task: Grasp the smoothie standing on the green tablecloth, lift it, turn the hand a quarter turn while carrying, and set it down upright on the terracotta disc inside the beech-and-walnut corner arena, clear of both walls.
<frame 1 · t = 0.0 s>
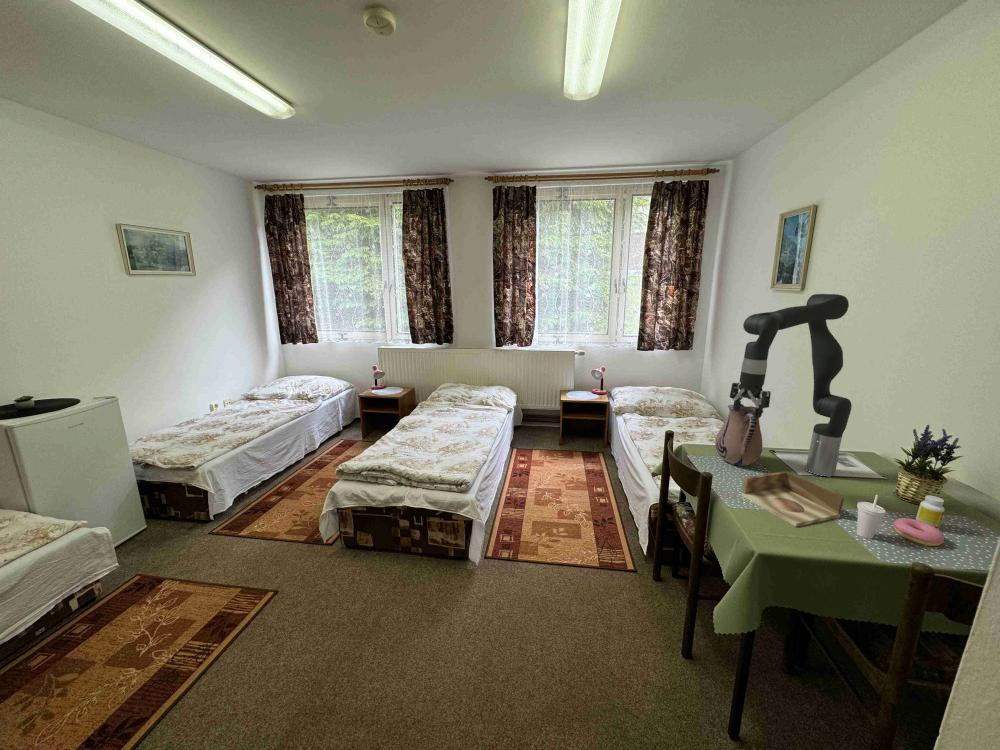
hand: (746, 414, 144), 29 cm above the table, fingers open, 8 cm apart
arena: (788, 505, 138), on the table
ceramic pitcher: (737, 463, 171), on the table
doughnut: (916, 537, 122), on the table
supplement bottle: (926, 526, 128), on the table
smoothie: (864, 535, 122), on the table
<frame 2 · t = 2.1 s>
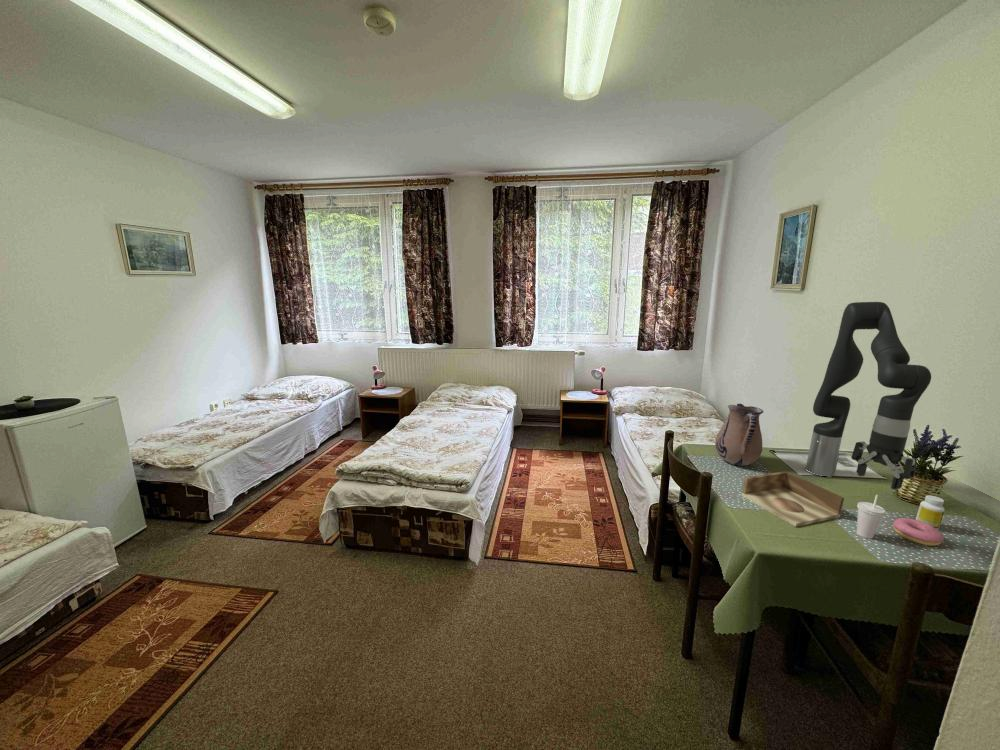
hand: (877, 482, 118), 18 cm above the table, fingers open, 8 cm apart
nothing on the table moved.
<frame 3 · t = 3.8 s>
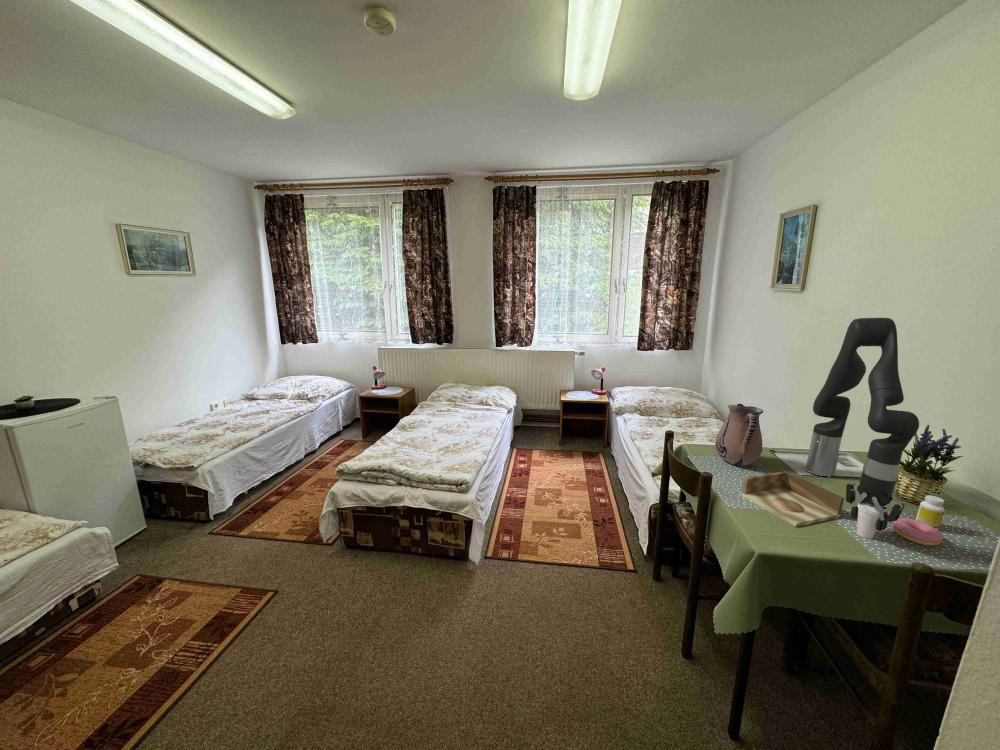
hand: (866, 523, 121), 4 cm above the table, fingers closed on smoothie, 6 cm apart
smoothie: (864, 535, 122), on the table, touching gripper
everything else where it was.
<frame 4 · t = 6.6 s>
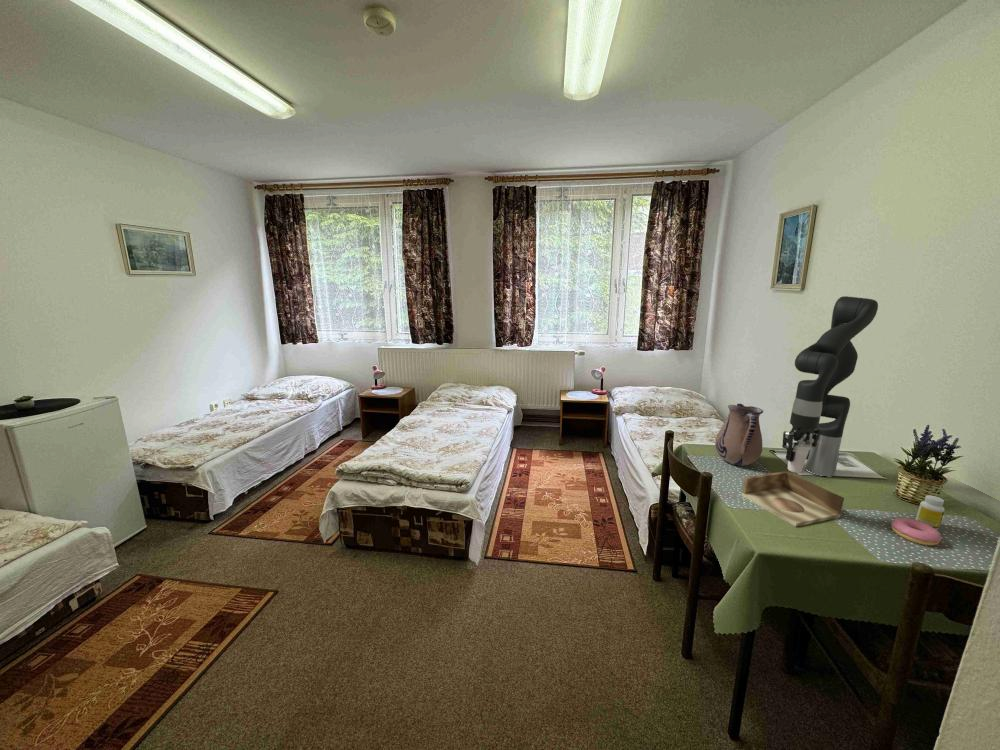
hand: (796, 459, 132), 18 cm above the table, fingers closed on smoothie, 6 cm apart
smoothie: (794, 470, 133), point 14 cm above the table, touching gripper
everything else where it was.
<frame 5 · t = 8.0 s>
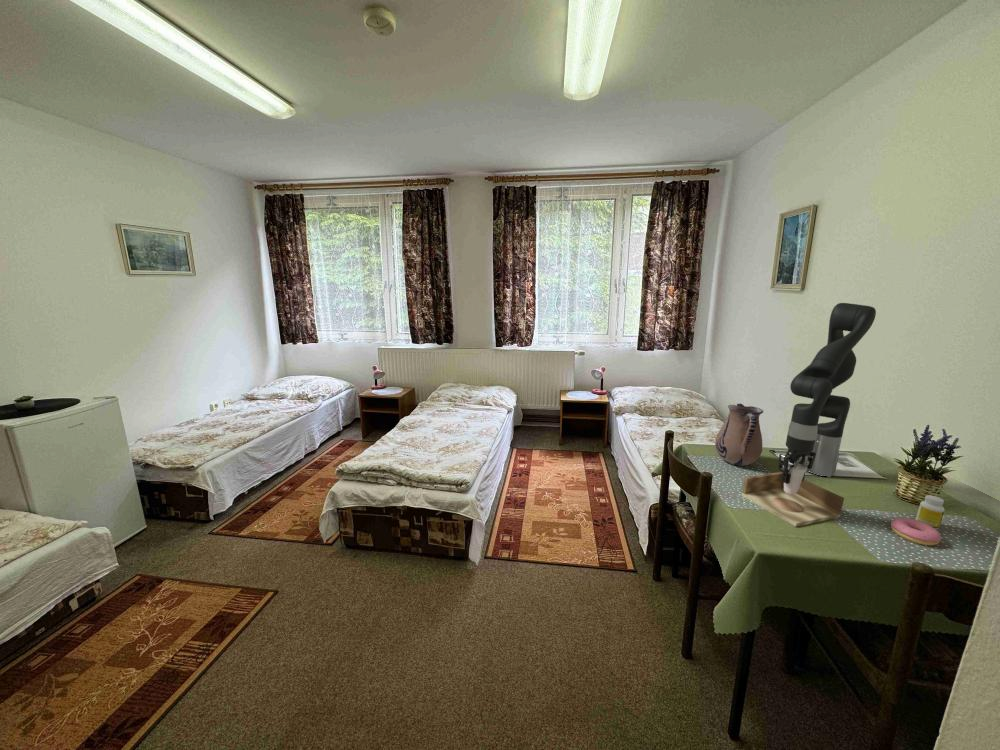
hand: (792, 481, 134), 10 cm above the table, fingers closed on smoothie, 6 cm apart
smoothie: (790, 492, 135), point 6 cm above the table, touching gripper
everything else where it was.
when the fingers open (6 cm above the table, at t = 9.3 s): smoothie drops 1 cm, resting on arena.
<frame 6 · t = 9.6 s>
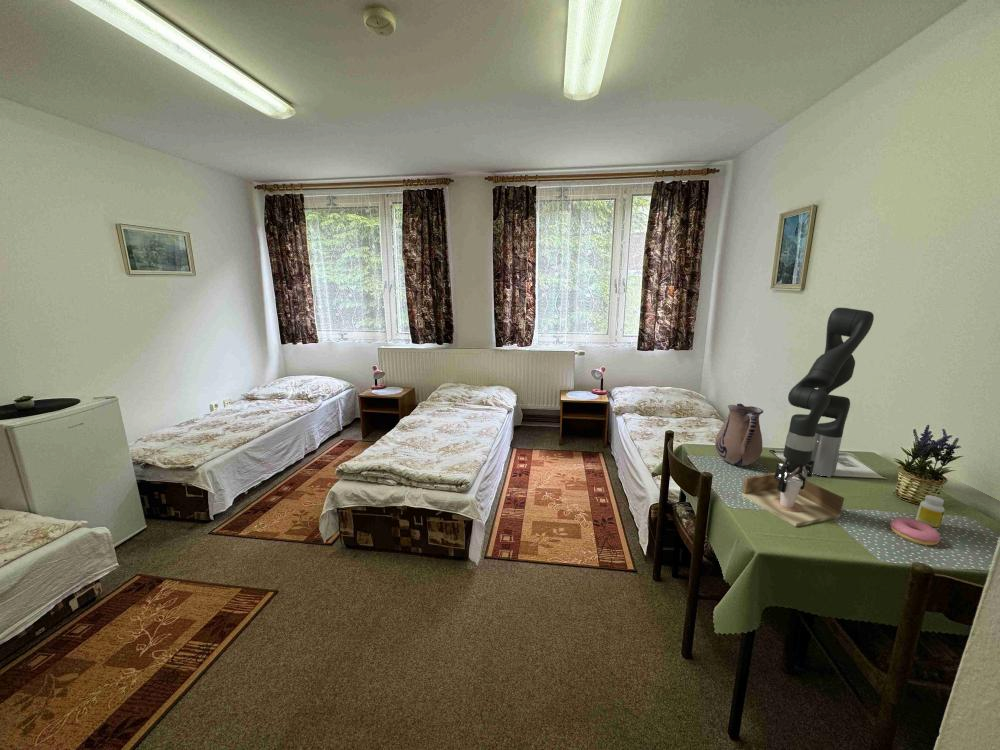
hand: (790, 489, 135), 7 cm above the table, fingers open, 8 cm apart
smoothie: (786, 505, 136), point 1 cm above the table, touching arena
everything else where it was.
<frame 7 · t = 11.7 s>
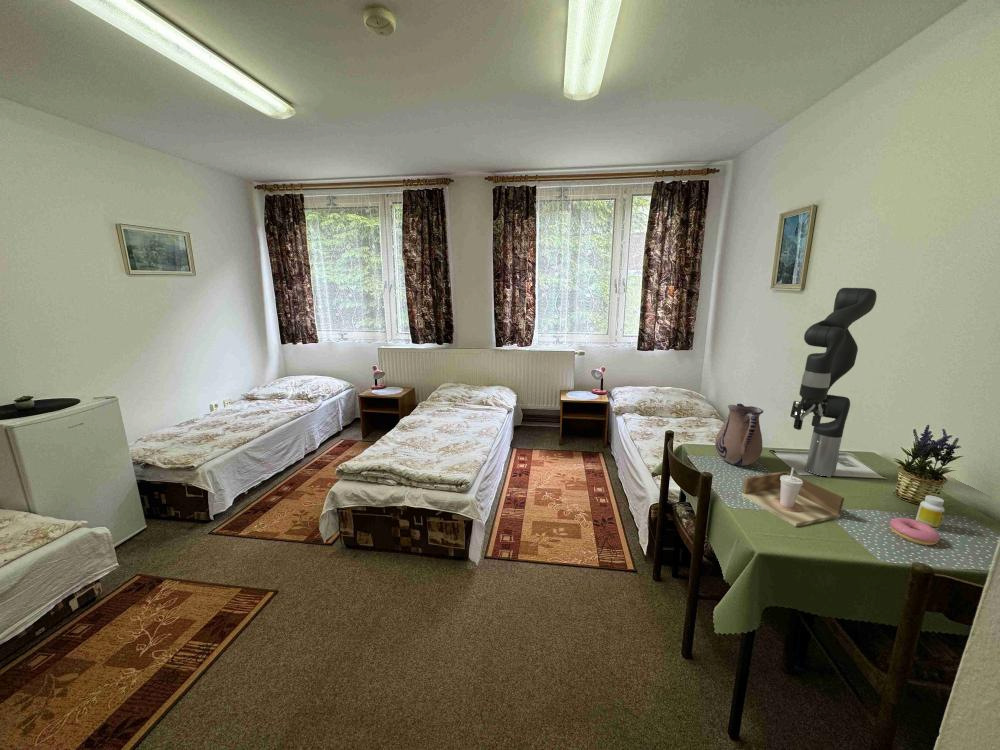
hand: (806, 427, 140), 26 cm above the table, fingers open, 8 cm apart
nothing on the table moved.
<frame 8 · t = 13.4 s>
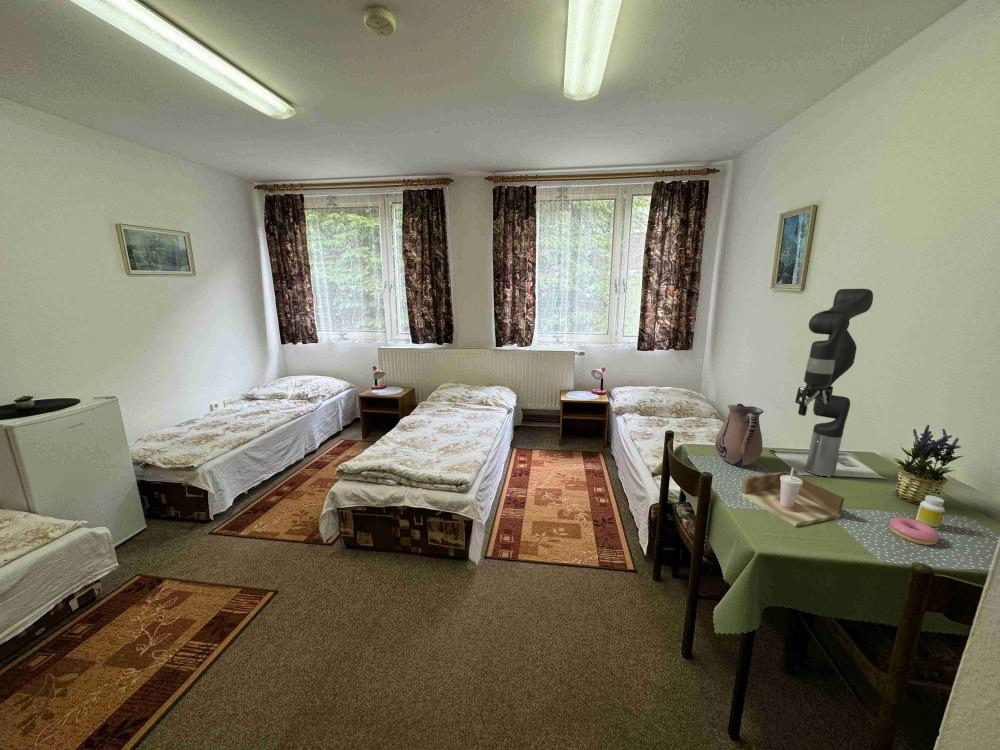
hand: (810, 414, 143), 30 cm above the table, fingers open, 8 cm apart
at the end: smoothie inside the target area on the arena (0.4 cm from its centre), point 1.2 cm above the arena's base; smoothie tilted 0°; the gripper is holding nothing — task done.
